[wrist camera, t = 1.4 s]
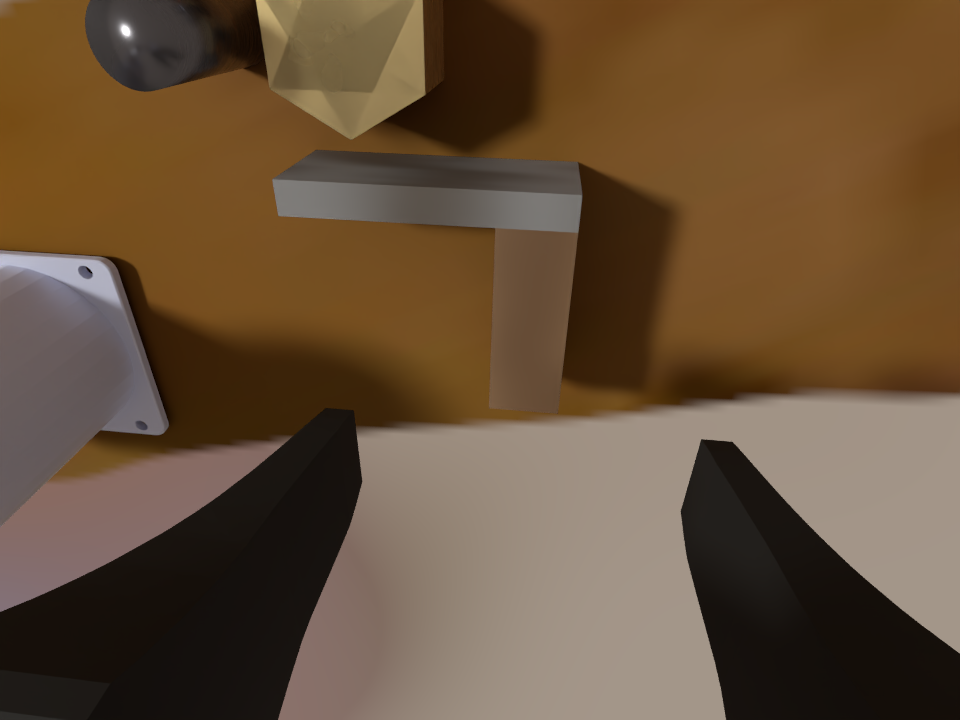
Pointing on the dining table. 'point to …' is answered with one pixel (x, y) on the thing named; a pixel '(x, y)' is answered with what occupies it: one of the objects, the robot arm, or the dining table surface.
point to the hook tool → (472, 203)
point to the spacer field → (172, 39)
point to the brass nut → (352, 56)
